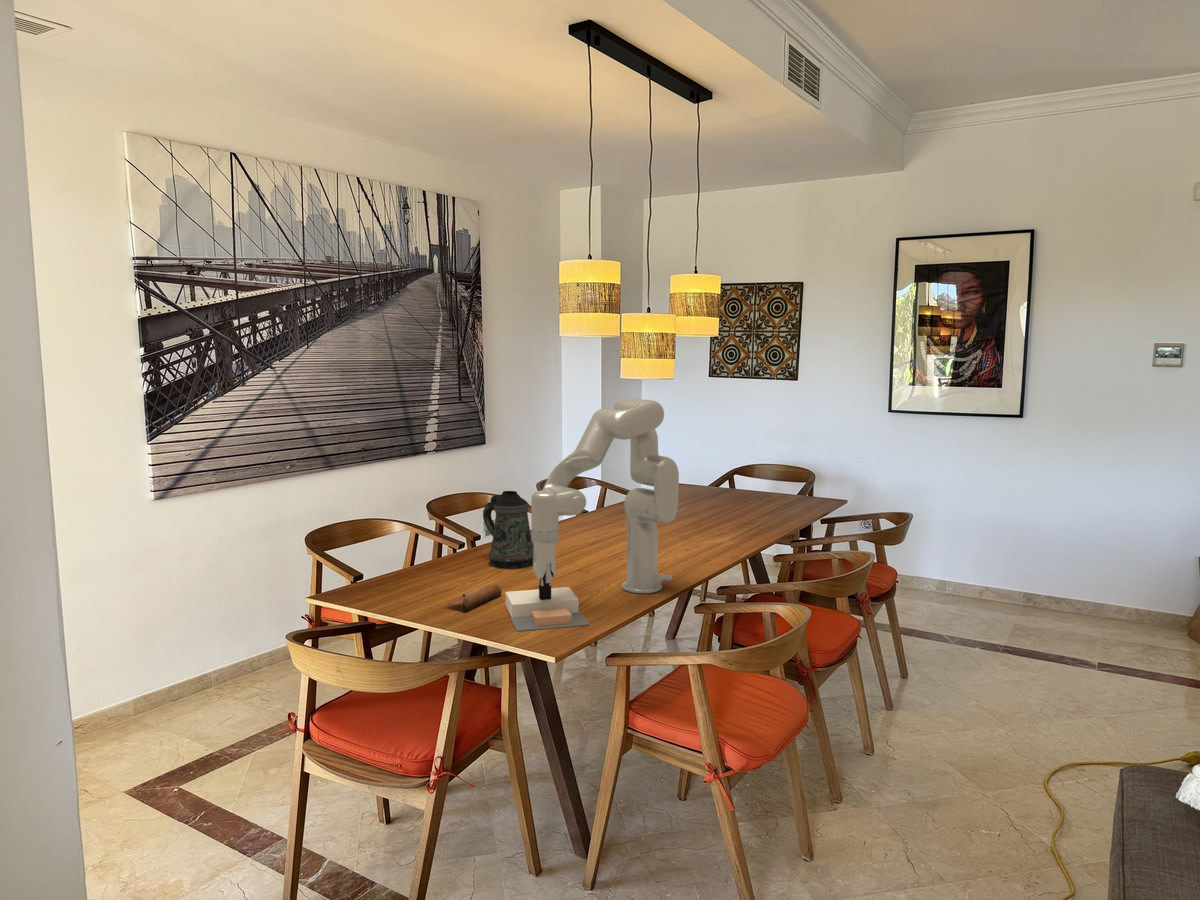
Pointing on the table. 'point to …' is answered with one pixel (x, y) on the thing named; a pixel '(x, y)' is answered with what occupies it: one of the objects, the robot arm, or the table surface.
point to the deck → (540, 601)
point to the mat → (528, 625)
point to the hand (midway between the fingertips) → (545, 598)
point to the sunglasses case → (474, 598)
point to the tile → (551, 617)
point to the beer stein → (509, 531)
